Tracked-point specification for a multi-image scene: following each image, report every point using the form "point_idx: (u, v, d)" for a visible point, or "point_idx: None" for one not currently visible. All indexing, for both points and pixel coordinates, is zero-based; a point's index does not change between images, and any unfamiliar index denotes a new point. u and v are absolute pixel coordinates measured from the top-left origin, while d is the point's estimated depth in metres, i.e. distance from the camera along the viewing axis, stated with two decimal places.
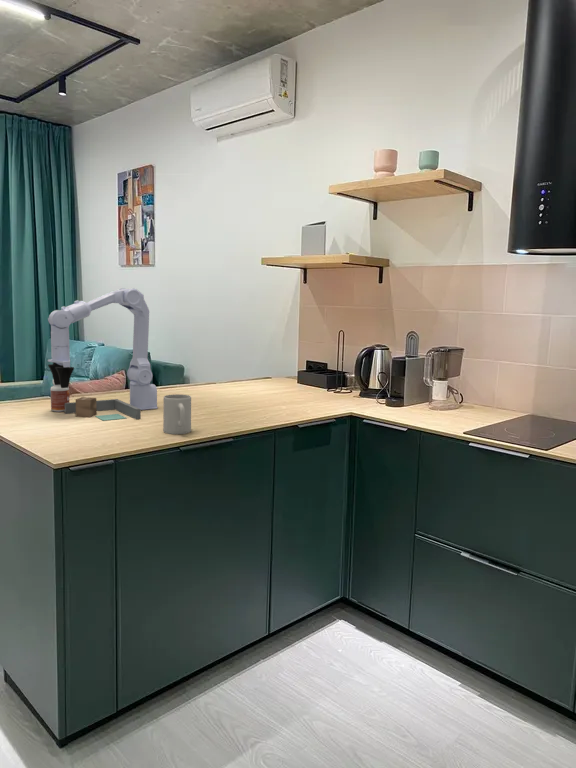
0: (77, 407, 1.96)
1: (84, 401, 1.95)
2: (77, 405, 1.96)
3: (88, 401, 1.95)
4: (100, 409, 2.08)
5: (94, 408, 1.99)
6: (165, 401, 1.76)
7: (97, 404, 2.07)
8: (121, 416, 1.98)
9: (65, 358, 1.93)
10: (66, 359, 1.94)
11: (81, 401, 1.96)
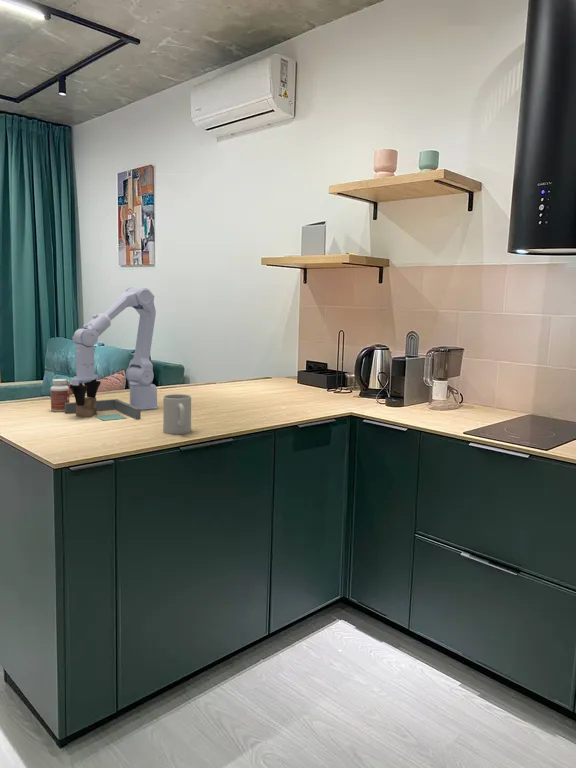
0: (77, 407, 1.96)
1: None
2: None
3: (88, 401, 1.95)
4: (100, 409, 2.08)
5: (94, 408, 1.99)
6: (165, 401, 1.76)
7: (97, 404, 2.07)
8: (121, 416, 1.98)
9: (83, 376, 1.94)
10: (84, 377, 1.94)
11: None
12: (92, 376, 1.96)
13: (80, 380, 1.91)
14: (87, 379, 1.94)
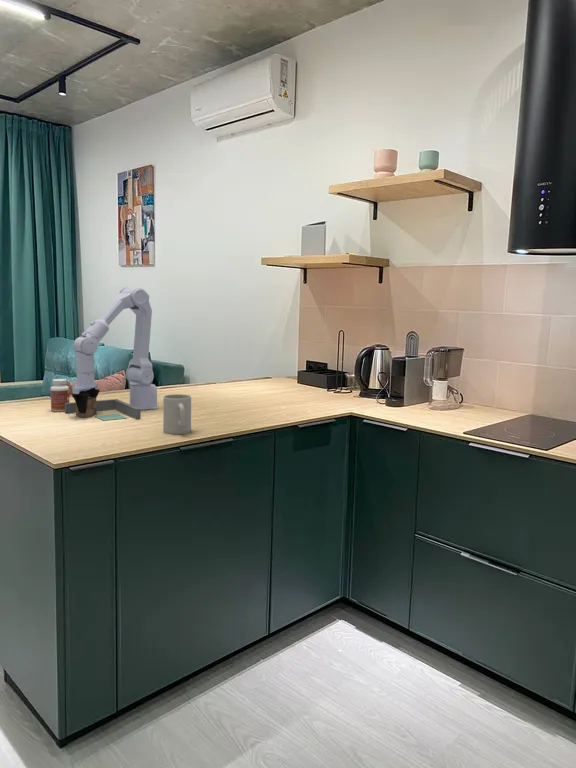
0: None
1: None
2: None
3: (88, 401, 1.95)
4: (100, 409, 2.08)
5: (94, 408, 1.99)
6: (165, 401, 1.76)
7: (97, 404, 2.07)
8: (121, 416, 1.98)
9: (83, 384, 1.94)
10: (85, 385, 1.94)
11: None
12: (92, 384, 1.96)
13: (80, 388, 1.92)
14: (87, 387, 1.94)
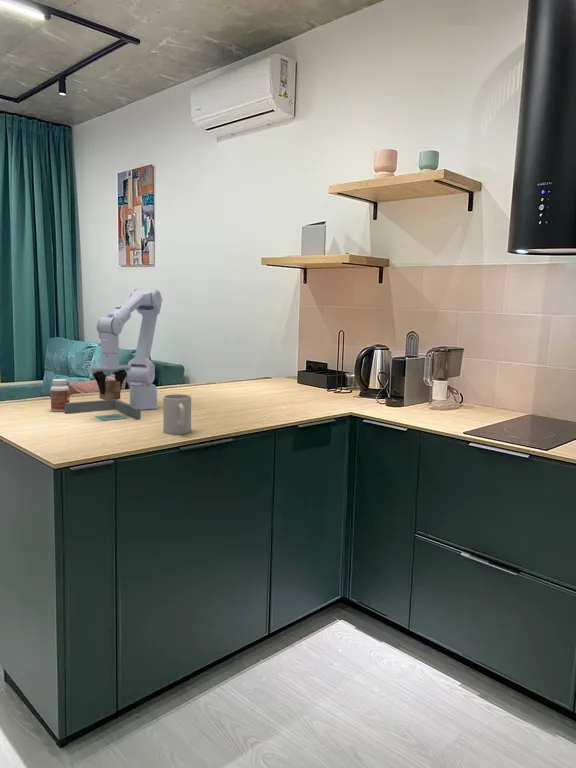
0: None
1: None
2: None
3: (105, 383, 1.92)
4: (100, 409, 2.08)
5: (116, 391, 1.95)
6: (165, 401, 1.76)
7: (97, 404, 2.07)
8: (121, 416, 1.98)
9: (103, 364, 1.92)
10: (104, 366, 1.92)
11: None
12: (112, 365, 1.92)
13: (95, 368, 1.90)
14: (104, 368, 1.91)
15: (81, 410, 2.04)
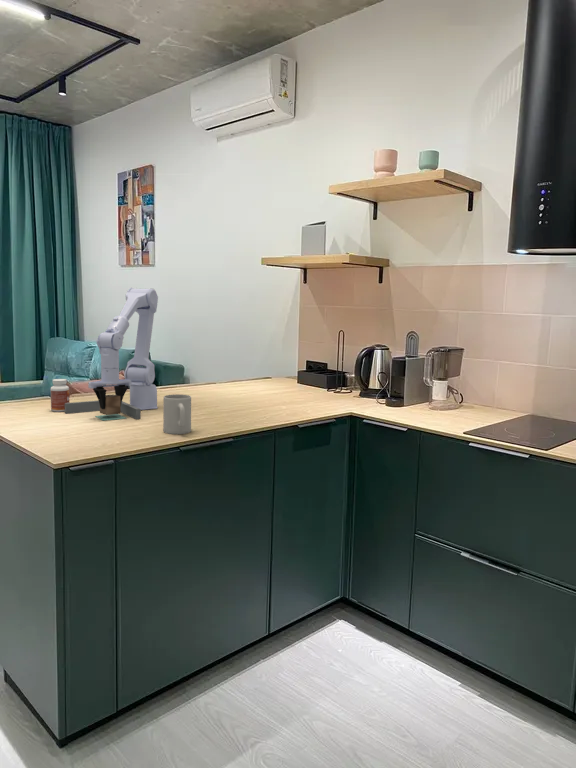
0: None
1: None
2: None
3: (106, 398, 1.93)
4: None
5: (116, 406, 1.95)
6: (165, 401, 1.76)
7: (97, 404, 2.07)
8: (121, 416, 1.98)
9: (103, 379, 1.93)
10: (104, 381, 1.92)
11: None
12: (112, 380, 1.93)
13: (95, 383, 1.90)
14: (105, 383, 1.92)
15: (81, 410, 2.04)
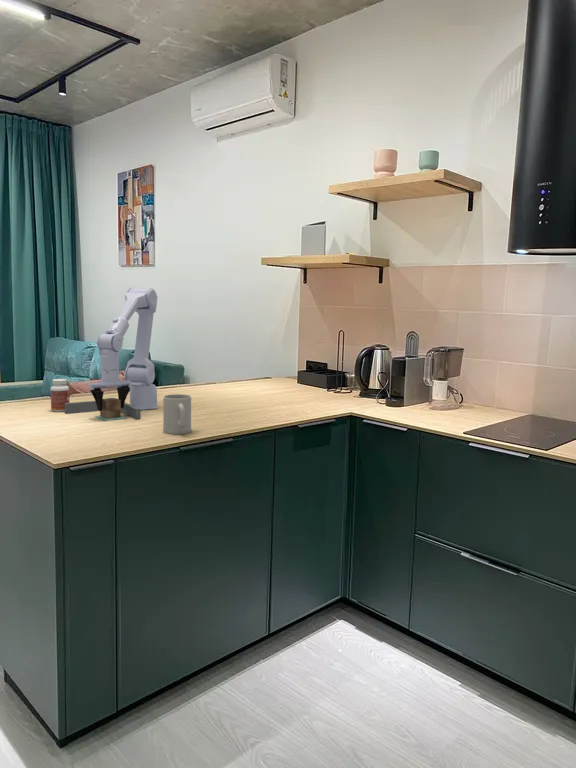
0: None
1: (104, 402, 1.94)
2: None
3: (106, 402, 1.93)
4: None
5: (117, 410, 1.96)
6: (165, 401, 1.76)
7: None
8: (121, 416, 1.98)
9: (103, 381, 1.93)
10: (104, 382, 1.92)
11: (102, 401, 1.95)
12: (112, 382, 1.93)
13: (95, 385, 1.90)
14: (105, 384, 1.92)
15: (81, 410, 2.04)
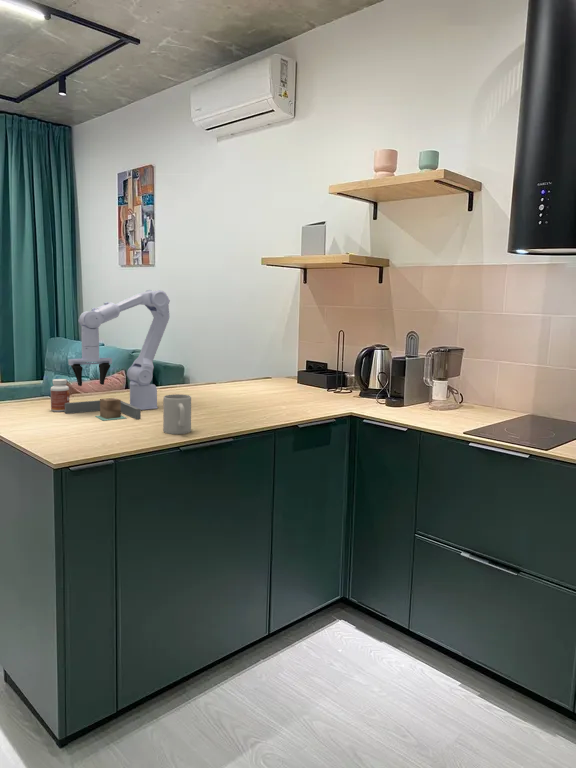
0: (100, 407, 1.96)
1: (104, 402, 1.94)
2: (100, 405, 1.96)
3: (106, 402, 1.93)
4: None
5: (117, 410, 1.96)
6: (165, 401, 1.76)
7: (97, 404, 2.07)
8: (121, 416, 1.98)
9: (83, 357, 1.99)
10: (84, 358, 1.98)
11: (102, 401, 1.95)
12: (91, 358, 1.98)
13: (74, 360, 1.97)
14: (84, 360, 1.97)
15: (81, 410, 2.04)
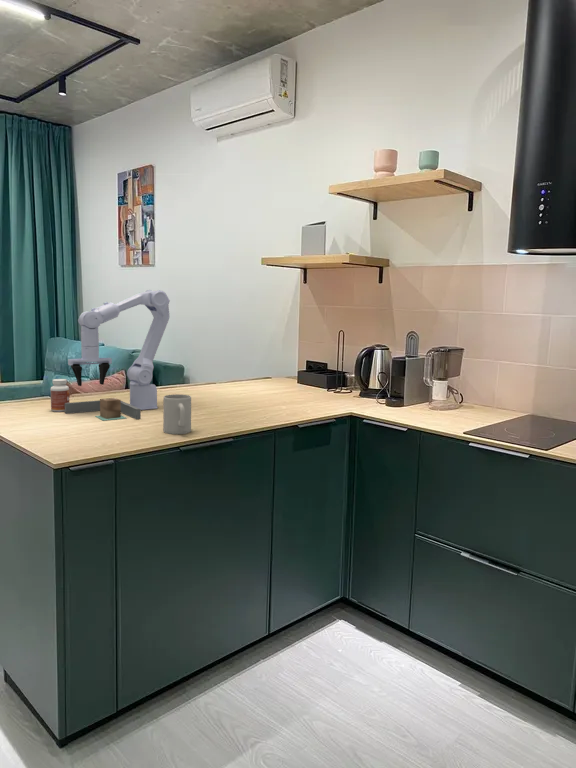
0: (100, 407, 1.96)
1: (104, 402, 1.94)
2: (100, 405, 1.96)
3: (106, 402, 1.93)
4: None
5: (117, 410, 1.96)
6: (165, 401, 1.76)
7: (97, 404, 2.07)
8: (121, 416, 1.98)
9: (82, 357, 1.99)
10: (83, 358, 1.98)
11: (102, 401, 1.95)
12: (91, 358, 1.98)
13: (74, 360, 1.97)
14: (83, 360, 1.98)
15: (81, 410, 2.04)
